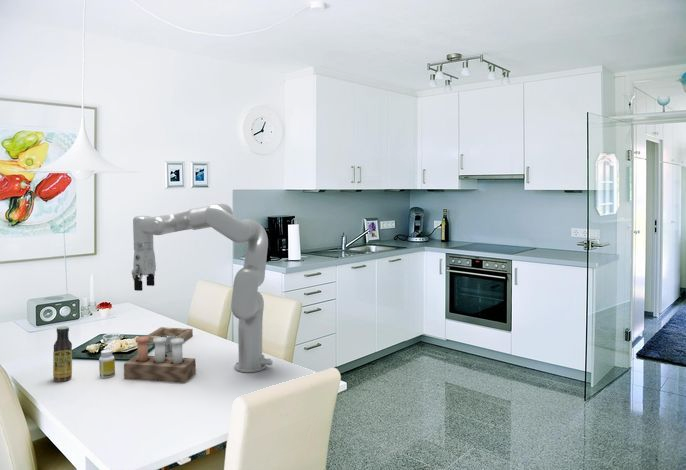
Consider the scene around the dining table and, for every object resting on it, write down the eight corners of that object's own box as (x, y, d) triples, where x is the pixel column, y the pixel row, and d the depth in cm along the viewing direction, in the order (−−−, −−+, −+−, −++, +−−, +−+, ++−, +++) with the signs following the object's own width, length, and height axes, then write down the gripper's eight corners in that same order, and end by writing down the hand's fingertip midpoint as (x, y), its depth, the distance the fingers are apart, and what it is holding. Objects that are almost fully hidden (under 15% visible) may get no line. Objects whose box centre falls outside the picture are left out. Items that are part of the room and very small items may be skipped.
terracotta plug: (152, 361, 203) (151, 336, 202) (145, 366, 199) (145, 340, 198) (140, 361, 204) (139, 335, 203) (133, 365, 199) (133, 339, 198)
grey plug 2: (186, 364, 202) (185, 338, 201) (180, 368, 197) (180, 342, 196) (174, 363, 202) (174, 337, 201) (168, 367, 198) (168, 341, 197)
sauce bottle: (53, 383, 192) (50, 330, 190) (53, 377, 198) (51, 326, 196) (73, 380, 195) (71, 328, 193) (73, 375, 201) (71, 324, 199)
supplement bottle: (118, 374, 202) (117, 349, 201) (107, 379, 197) (106, 354, 196) (107, 372, 204) (106, 348, 203) (96, 377, 199) (95, 352, 198)
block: (195, 373, 204) (195, 358, 204) (184, 383, 195) (184, 367, 194) (137, 369, 207) (137, 354, 207) (124, 379, 198) (123, 363, 197)
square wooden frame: (192, 336, 252) (192, 328, 252) (178, 346, 237) (178, 338, 236) (161, 334, 254) (161, 327, 254) (144, 344, 239) (144, 336, 238)
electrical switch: (160, 362, 215) (158, 340, 215) (153, 361, 219) (151, 339, 218) (179, 357, 223) (178, 335, 222) (172, 355, 226) (171, 334, 226)
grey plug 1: (169, 363, 203) (168, 337, 202) (163, 367, 198) (162, 341, 197) (157, 362, 203) (156, 336, 202) (151, 366, 198) (150, 340, 197)
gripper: (141, 249, 203) (142, 292, 205) (162, 244, 220) (163, 284, 222) (123, 248, 204) (124, 292, 206) (145, 243, 221) (146, 283, 223)
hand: (144, 288), depth 214 cm, fingers open, 9 cm apart
